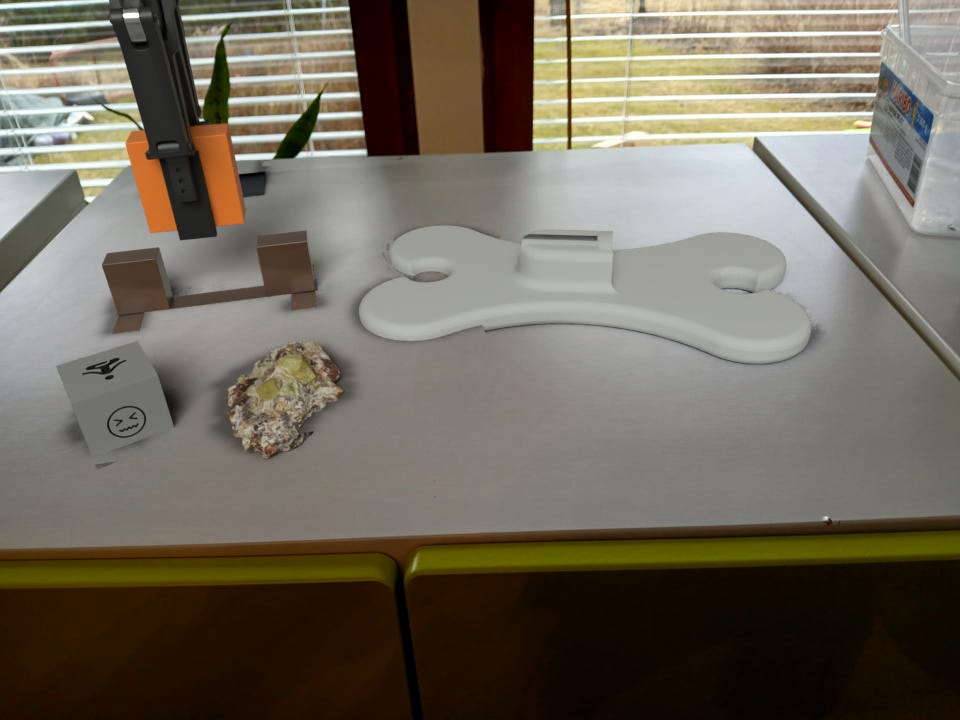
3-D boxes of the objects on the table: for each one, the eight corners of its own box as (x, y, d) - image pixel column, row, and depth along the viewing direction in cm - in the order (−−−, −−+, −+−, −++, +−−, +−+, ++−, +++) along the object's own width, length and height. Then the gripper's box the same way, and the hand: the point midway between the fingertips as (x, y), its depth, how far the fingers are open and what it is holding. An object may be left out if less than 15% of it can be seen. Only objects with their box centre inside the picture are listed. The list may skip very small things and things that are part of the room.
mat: (163, 169, 95) (163, 166, 95) (266, 159, 97) (265, 156, 96) (150, 206, 85) (149, 203, 85) (264, 194, 87) (263, 191, 87)
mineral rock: (236, 338, 57) (338, 313, 55) (264, 385, 59) (362, 362, 57) (181, 437, 48) (299, 411, 46) (215, 487, 50) (329, 464, 49)
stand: (129, 297, 68) (110, 238, 65) (317, 274, 70) (308, 216, 67) (112, 345, 61) (91, 282, 58) (321, 318, 64) (310, 256, 61)
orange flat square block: (154, 219, 62) (130, 131, 58) (245, 209, 63) (228, 122, 60) (150, 233, 60) (124, 143, 56) (244, 223, 61) (226, 134, 57)
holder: (402, 241, 75) (397, 191, 73) (773, 251, 71) (783, 198, 68) (347, 348, 60) (338, 290, 57) (819, 371, 55) (835, 308, 52)
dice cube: (157, 401, 55) (137, 340, 52) (177, 439, 51) (157, 375, 48) (80, 428, 53) (55, 366, 50) (96, 469, 49) (71, 404, 46)
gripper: (164, -121, 43) (246, 266, 56) (191, -131, 56) (252, 186, 69) (16, -115, 42) (135, 279, 55) (79, -126, 55) (163, 195, 68)
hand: (200, 226), depth 62 cm, fingers closed on orange flat square block, 3 cm apart
